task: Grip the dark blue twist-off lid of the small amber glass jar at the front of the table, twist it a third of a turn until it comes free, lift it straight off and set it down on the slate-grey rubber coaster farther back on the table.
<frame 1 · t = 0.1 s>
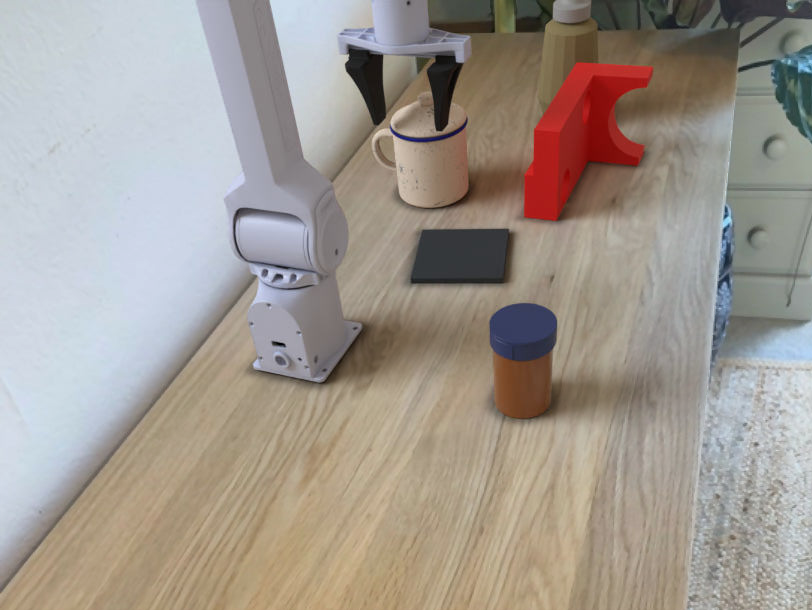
hand: (410, 124, 96), 10 cm above the worktop, tool pointing down, fingers open, 7 cm apart
jar: (522, 399, 79), on the worktop
bracket: (586, 185, 104), on the worktop
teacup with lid: (423, 192, 106), on the worktop
squeeze bottle: (567, 122, 115), on the worktop
coaster: (461, 257, 95), on the worktop
jar lid: (523, 325, 73), point 8 cm above the worktop, screwed on, not yet turned
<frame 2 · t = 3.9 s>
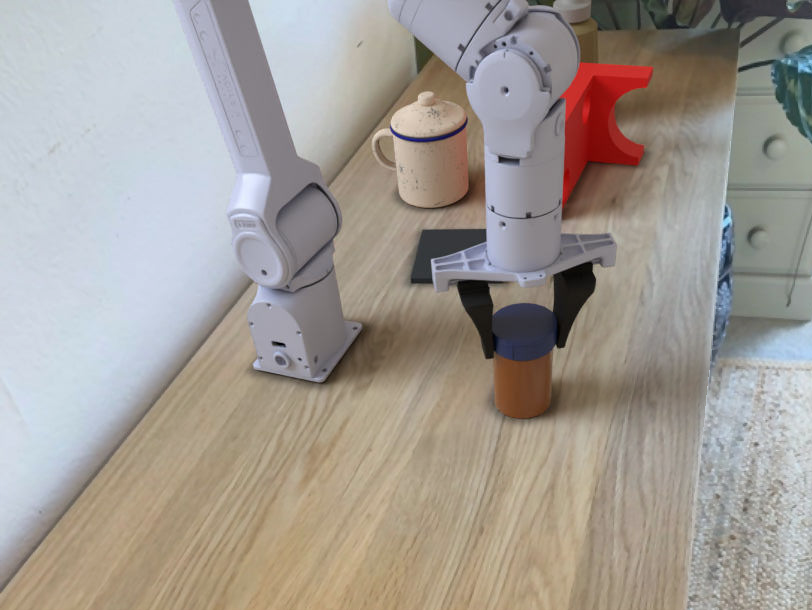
hand: (522, 346, 74), 6 cm above the worktop, tool pointing down, fingers closed on jar lid, 5 cm apart
jar lid: (523, 325, 73), point 8 cm above the worktop, screwed on, not yet turned, touching gripper
everything else where it was.
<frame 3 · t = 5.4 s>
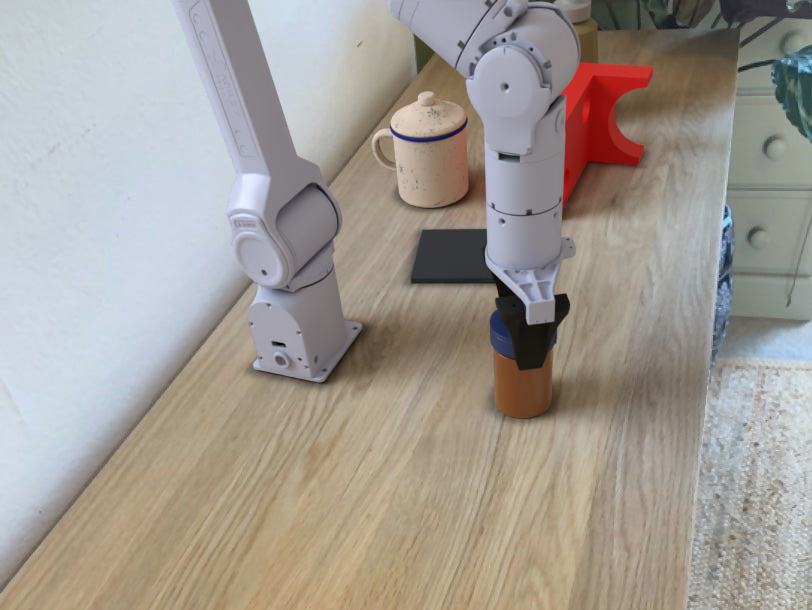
hand: (523, 344, 74), 6 cm above the worktop, tool pointing down, fingers closed on jar lid, 5 cm apart
jar lid: (523, 323, 72), point 8 cm above the worktop, turned 82° so far, risen 0.2 cm, still on its thread, touching gripper
everything else where it was.
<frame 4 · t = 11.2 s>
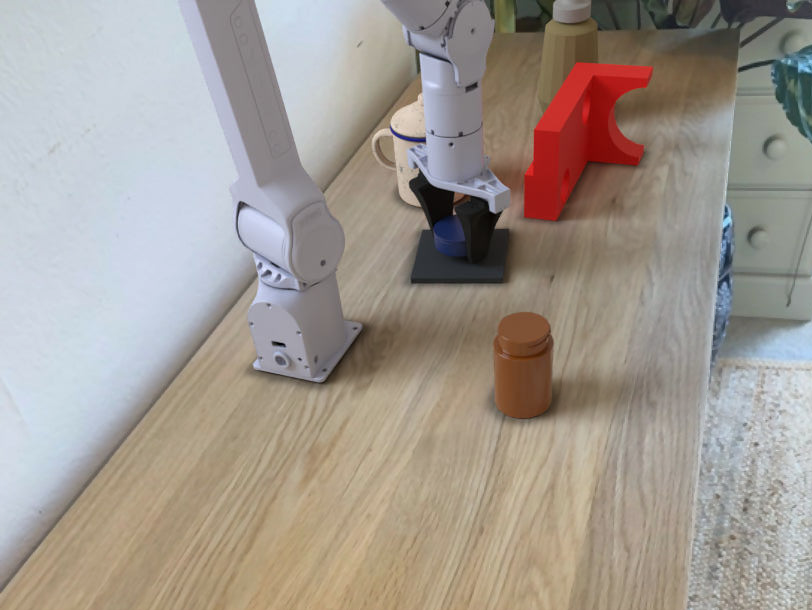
hand: (460, 248, 95), 1 cm above the worktop, tool pointing down, fingers closed on jar lid, 5 cm apart
jar lid: (459, 230, 93), point 3 cm above the worktop, off its thread, touching gripper
everything else where it was.
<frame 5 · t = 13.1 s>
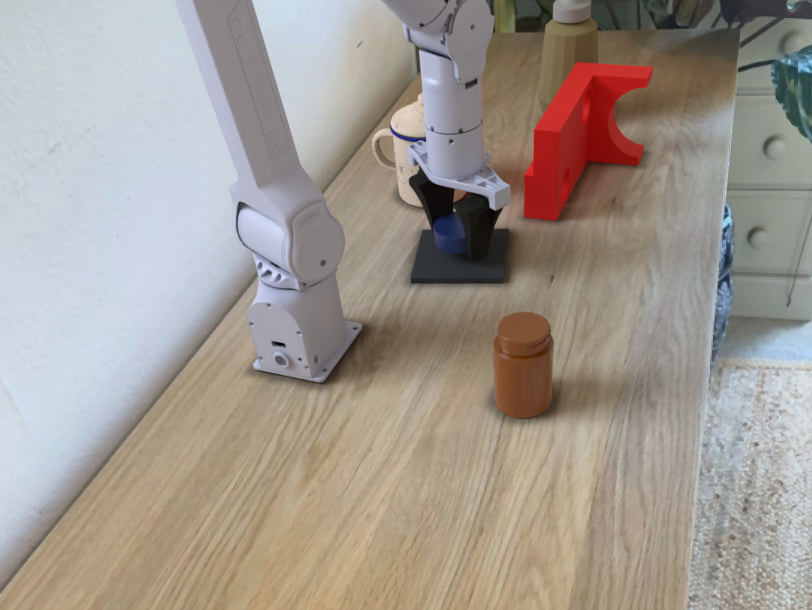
hand: (460, 245, 94), 1 cm above the worktop, tool pointing down, fingers closed on jar lid, 5 cm apart
jar lid: (460, 227, 93), point 4 cm above the worktop, off its thread, touching gripper
everything else where it was.
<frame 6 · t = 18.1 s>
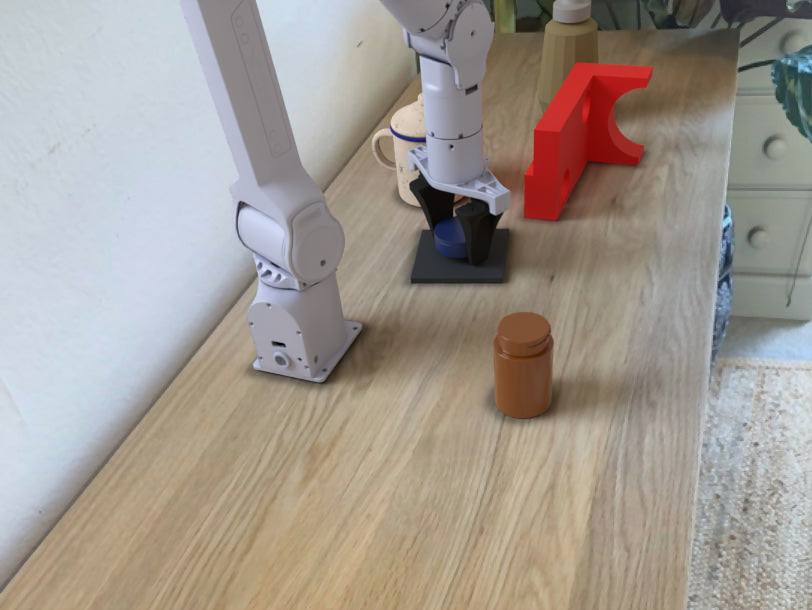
hand: (460, 250, 95), 1 cm above the worktop, tool pointing down, fingers closed on jar lid, 6 cm apart
jar lid: (460, 231, 93), point 3 cm above the worktop, off its thread, touching gripper
everything else where it was.
when the fingers open (2 cm above the worktop, at t = 22.4 s): jar lid drops 2 cm, resting on coaster.
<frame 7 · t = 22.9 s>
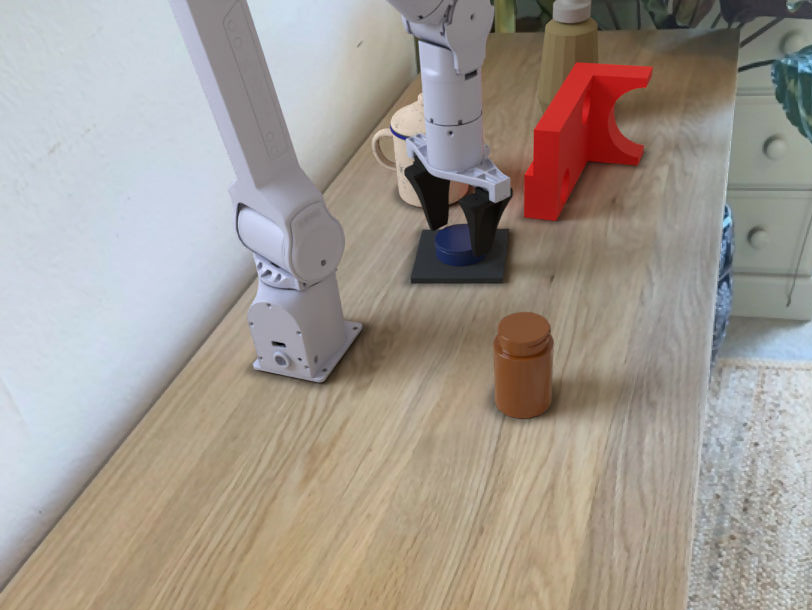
hand: (460, 239, 94), 2 cm above the worktop, tool pointing down, fingers open, 7 cm apart
jar lid: (461, 240, 94), point 2 cm above the worktop, off its thread, touching coaster
everything else where it was.
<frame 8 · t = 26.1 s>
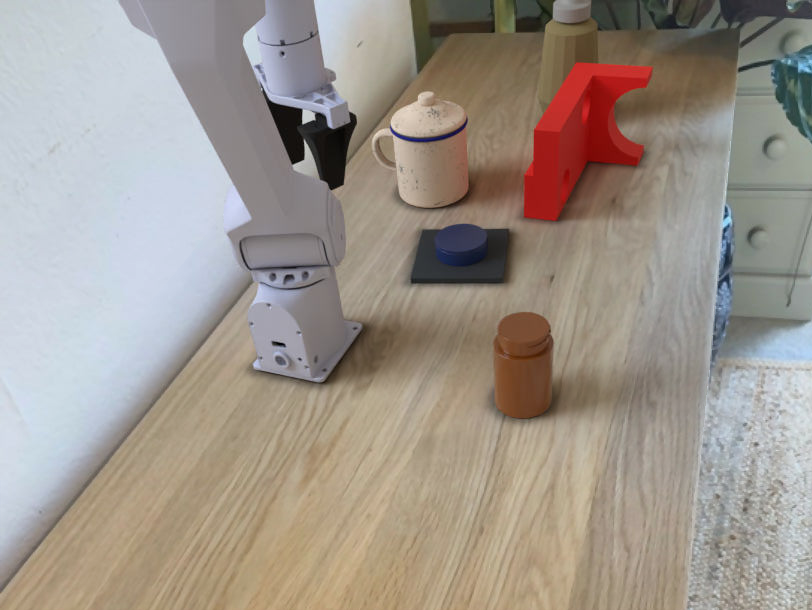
hand: (314, 174, 89), 10 cm above the worktop, tool pointing down, fingers open, 7 cm apart
nothing on the worktop moved.
at the end: the gripper is holding nothing; jar lid point 2.1 cm above the worktop; jar lid inside the target area on the coaster (0.1 cm from its centre), point 2.1 cm above the coaster's base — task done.
